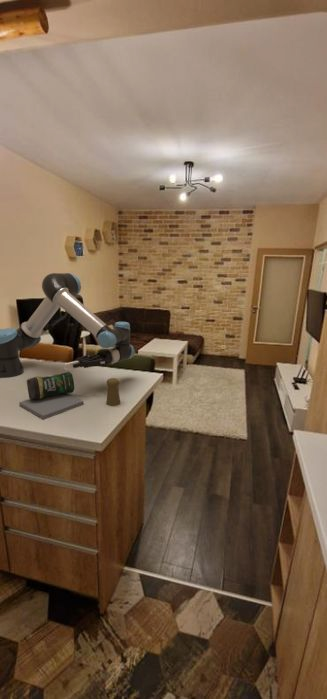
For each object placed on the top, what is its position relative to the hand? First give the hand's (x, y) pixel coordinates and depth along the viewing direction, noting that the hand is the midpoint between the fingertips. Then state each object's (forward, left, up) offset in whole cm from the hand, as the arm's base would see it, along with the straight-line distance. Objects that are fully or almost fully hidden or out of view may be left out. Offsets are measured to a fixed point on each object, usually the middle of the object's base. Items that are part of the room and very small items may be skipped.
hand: (65, 367), depth 130 cm
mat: (0, -7, -15) cm, 17 cm away
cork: (+17, +12, -15) cm, 26 cm away
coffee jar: (-4, +5, -9) cm, 11 cm away
